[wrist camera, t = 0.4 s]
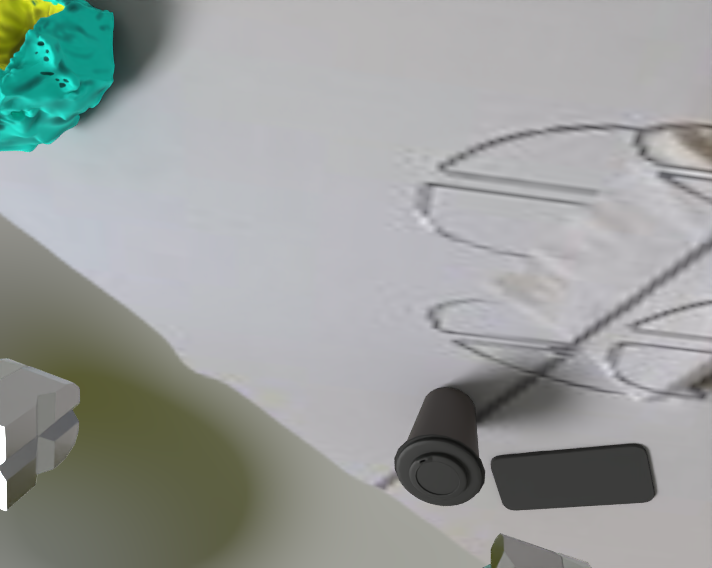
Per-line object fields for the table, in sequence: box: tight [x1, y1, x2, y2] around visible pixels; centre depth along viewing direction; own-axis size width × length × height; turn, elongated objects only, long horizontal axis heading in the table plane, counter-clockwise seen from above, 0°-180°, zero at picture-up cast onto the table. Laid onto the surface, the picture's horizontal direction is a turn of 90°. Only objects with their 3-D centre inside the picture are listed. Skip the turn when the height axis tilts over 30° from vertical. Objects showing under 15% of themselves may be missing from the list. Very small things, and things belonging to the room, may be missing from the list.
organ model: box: [0, 0, 115, 152], centre depth 45 cm, size 15×12×13 cm
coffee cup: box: [394, 387, 485, 506], centre depth 52 cm, size 8×8×10 cm
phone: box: [491, 444, 654, 510], centre depth 56 cm, size 7×1×15 cm
